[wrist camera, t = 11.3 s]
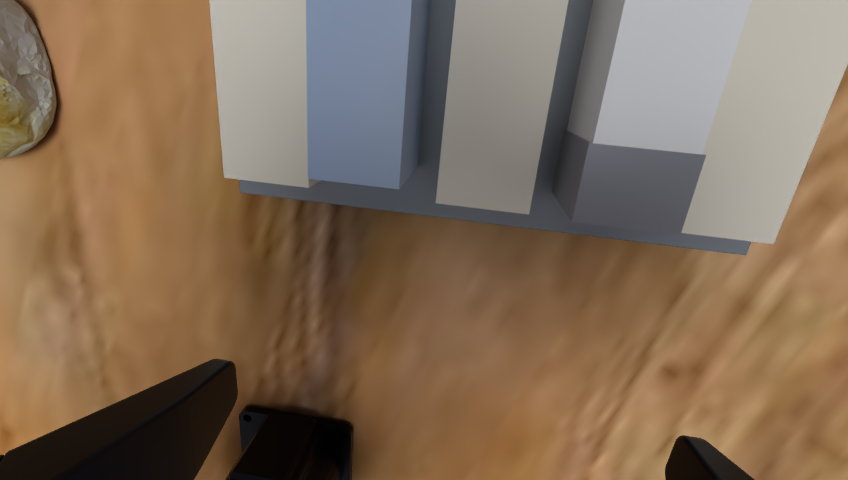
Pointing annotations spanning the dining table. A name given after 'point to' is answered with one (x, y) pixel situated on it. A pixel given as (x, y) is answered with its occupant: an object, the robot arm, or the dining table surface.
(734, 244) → the rack
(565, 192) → the grey white bar
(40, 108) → the bread roll
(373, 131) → the grey rectangular bar
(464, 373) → the dining table surface
